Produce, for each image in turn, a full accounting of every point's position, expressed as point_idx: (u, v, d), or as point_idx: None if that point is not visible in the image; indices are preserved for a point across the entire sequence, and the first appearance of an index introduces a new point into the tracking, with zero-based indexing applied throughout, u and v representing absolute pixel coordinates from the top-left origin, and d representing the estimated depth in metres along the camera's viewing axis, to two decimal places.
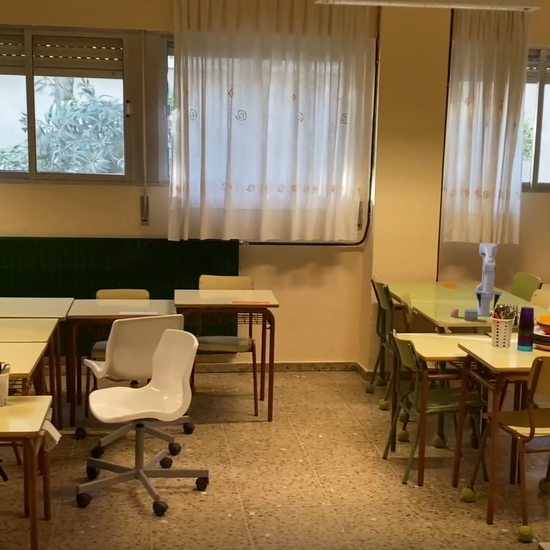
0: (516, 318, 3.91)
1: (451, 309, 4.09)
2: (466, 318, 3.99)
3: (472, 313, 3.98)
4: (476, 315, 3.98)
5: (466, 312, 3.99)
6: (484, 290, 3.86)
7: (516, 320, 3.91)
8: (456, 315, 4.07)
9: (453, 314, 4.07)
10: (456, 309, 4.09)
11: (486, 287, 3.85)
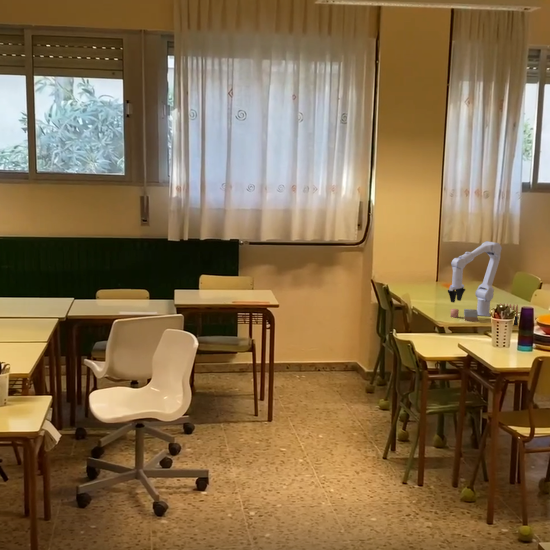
0: (516, 318, 3.91)
1: (451, 309, 4.09)
2: (466, 318, 3.99)
3: (472, 313, 3.98)
4: (476, 315, 3.98)
5: (466, 312, 3.99)
6: None
7: (516, 320, 3.91)
8: (456, 315, 4.07)
9: (453, 314, 4.07)
10: (456, 309, 4.09)
11: None
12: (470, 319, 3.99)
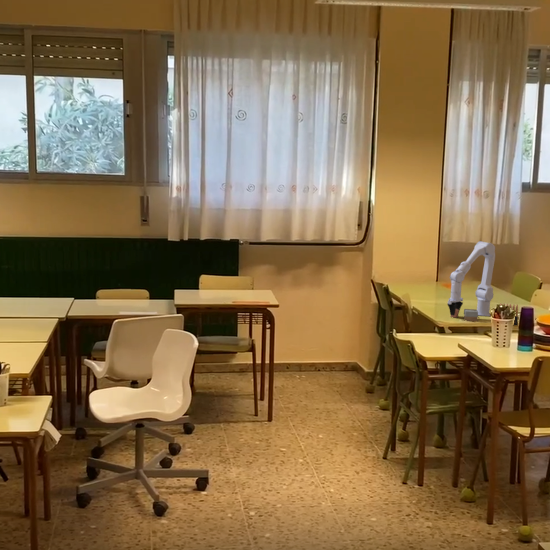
0: (516, 318, 3.91)
1: None
2: (466, 318, 3.99)
3: (472, 313, 3.98)
4: (476, 315, 3.98)
5: (466, 312, 3.99)
6: None
7: (516, 320, 3.91)
8: (456, 315, 4.07)
9: None
10: (456, 309, 4.09)
11: None
12: (470, 319, 3.99)
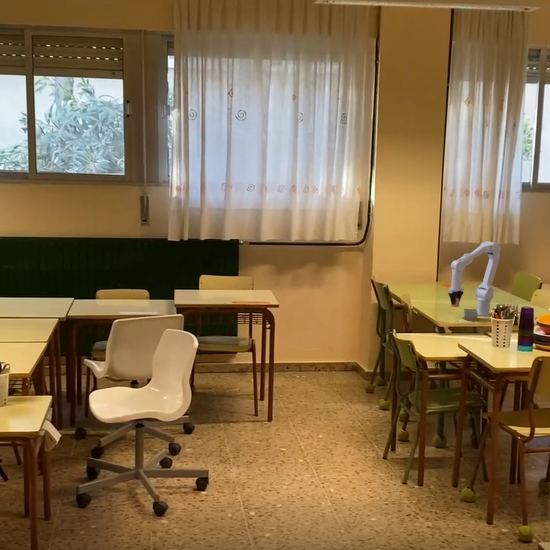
0: (516, 318, 3.91)
1: None
2: (466, 318, 4.00)
3: (472, 313, 3.99)
4: (476, 315, 3.98)
5: (466, 312, 3.99)
6: None
7: (516, 320, 3.91)
8: (457, 304, 4.06)
9: None
10: (457, 298, 4.08)
11: None
12: (470, 319, 3.99)
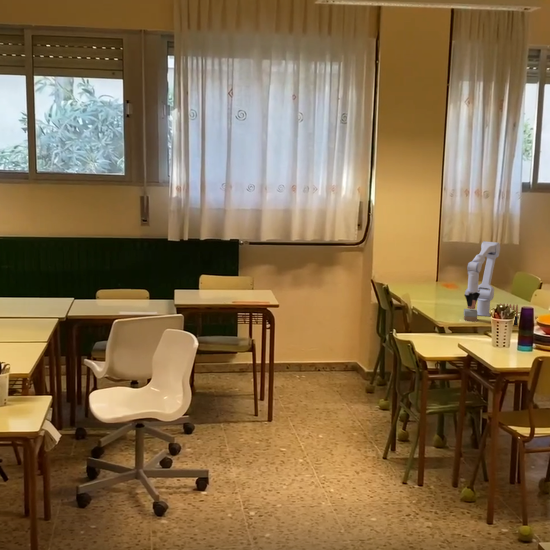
0: (516, 318, 3.91)
1: None
2: (466, 318, 3.99)
3: (472, 313, 3.98)
4: (476, 315, 3.98)
5: (466, 312, 3.99)
6: None
7: (516, 320, 3.91)
8: (473, 306, 3.99)
9: None
10: (473, 300, 4.01)
11: None
12: (470, 319, 3.99)
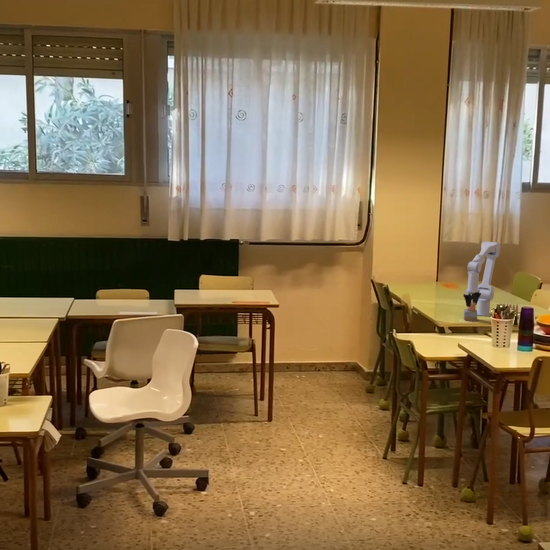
0: (516, 318, 3.91)
1: None
2: (466, 319, 3.99)
3: (471, 313, 3.98)
4: (475, 315, 3.98)
5: (465, 312, 3.99)
6: None
7: (516, 320, 3.91)
8: (473, 309, 3.99)
9: (470, 308, 3.99)
10: (473, 303, 4.01)
11: None
12: (470, 319, 3.99)
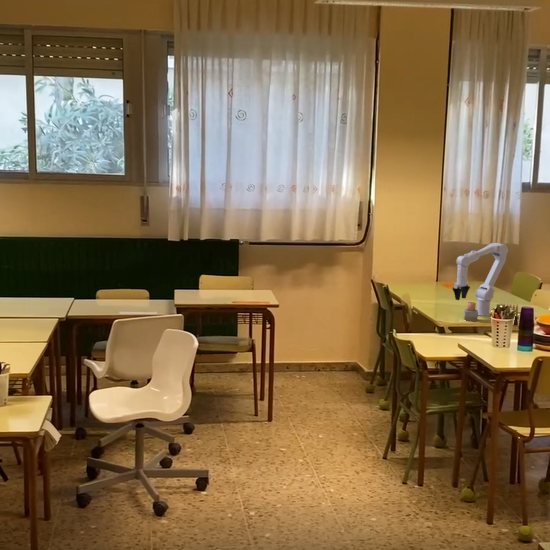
0: (516, 318, 3.91)
1: (468, 302, 4.01)
2: (466, 319, 3.99)
3: (472, 313, 3.98)
4: (476, 315, 3.98)
5: (466, 312, 3.99)
6: None
7: (516, 320, 3.91)
8: (472, 309, 3.99)
9: (469, 308, 3.99)
10: (473, 302, 4.01)
11: None
12: (470, 319, 3.99)
